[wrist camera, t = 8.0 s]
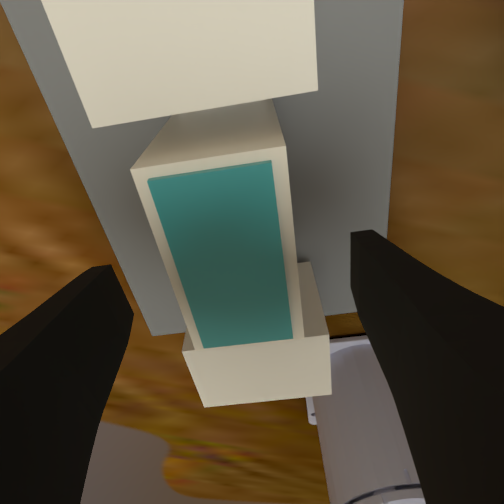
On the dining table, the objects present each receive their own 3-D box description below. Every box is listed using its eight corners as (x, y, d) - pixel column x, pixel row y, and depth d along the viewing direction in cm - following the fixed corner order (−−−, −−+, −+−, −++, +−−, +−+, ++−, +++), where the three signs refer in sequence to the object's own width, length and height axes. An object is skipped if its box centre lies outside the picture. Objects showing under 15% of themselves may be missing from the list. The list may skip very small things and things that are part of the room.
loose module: (288, 247, 17) (305, 343, 12) (210, 257, 18) (194, 355, 13) (272, 98, 14) (286, 148, 8) (172, 114, 14) (127, 172, 9)
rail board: (376, 297, 21) (419, 392, 16) (155, 324, 22) (126, 421, 17) (400, -113, 11) (537, -228, 6) (2, -29, 12) (-185, -64, 7)
